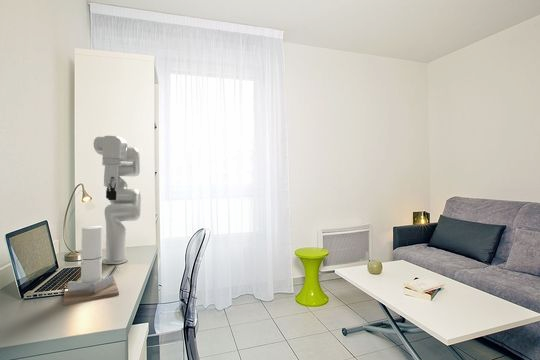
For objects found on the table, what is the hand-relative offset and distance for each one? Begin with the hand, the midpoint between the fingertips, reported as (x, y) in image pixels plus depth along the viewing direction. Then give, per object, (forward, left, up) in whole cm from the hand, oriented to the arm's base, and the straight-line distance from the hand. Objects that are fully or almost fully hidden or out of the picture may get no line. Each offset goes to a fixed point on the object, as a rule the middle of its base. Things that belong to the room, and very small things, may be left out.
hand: (111, 199), depth 135 cm
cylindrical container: (+15, -8, -35) cm, 39 cm away
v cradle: (+15, -8, -36) cm, 40 cm away
